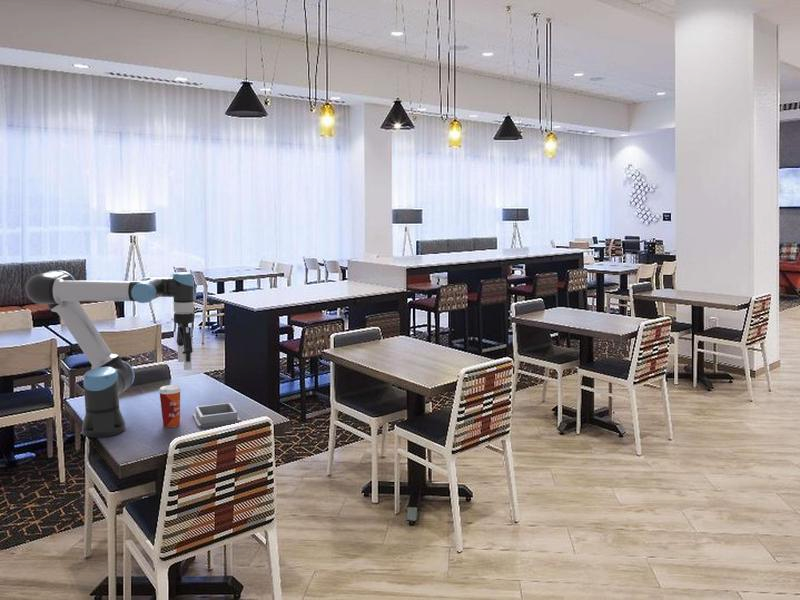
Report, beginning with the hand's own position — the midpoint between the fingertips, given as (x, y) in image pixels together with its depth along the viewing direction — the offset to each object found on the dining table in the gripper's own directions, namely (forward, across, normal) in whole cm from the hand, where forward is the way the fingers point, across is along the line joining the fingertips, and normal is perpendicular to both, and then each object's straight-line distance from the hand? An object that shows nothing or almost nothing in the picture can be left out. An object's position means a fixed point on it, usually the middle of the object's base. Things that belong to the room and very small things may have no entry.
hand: (184, 365), depth 265 cm
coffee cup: (+22, -5, +6) cm, 23 cm away
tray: (+21, -6, -11) cm, 25 cm away
